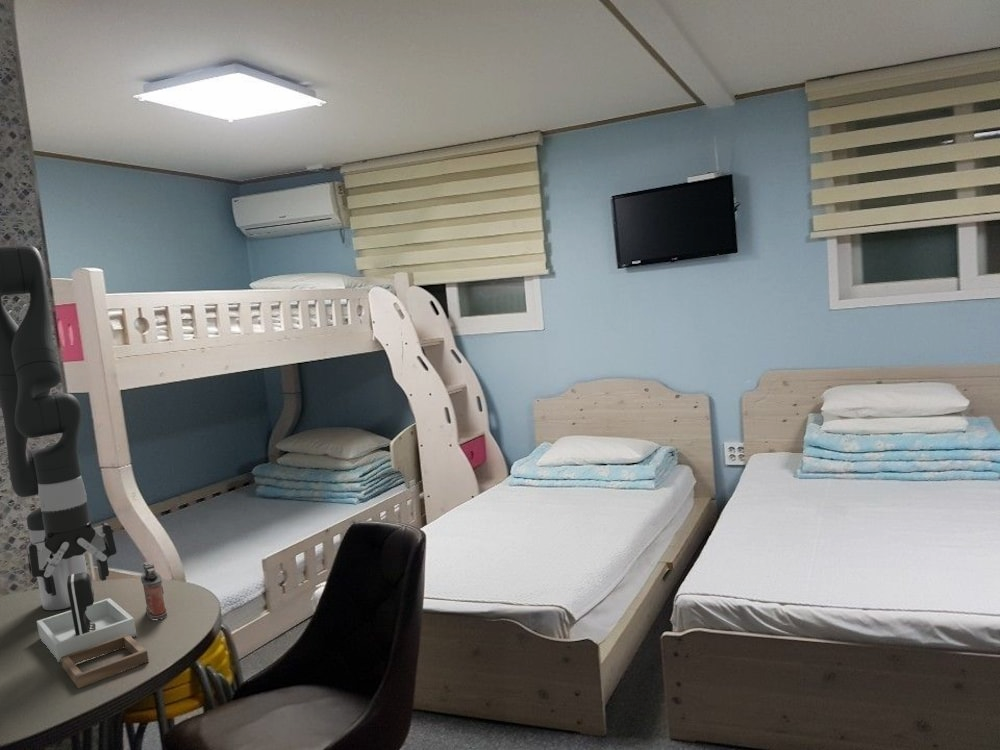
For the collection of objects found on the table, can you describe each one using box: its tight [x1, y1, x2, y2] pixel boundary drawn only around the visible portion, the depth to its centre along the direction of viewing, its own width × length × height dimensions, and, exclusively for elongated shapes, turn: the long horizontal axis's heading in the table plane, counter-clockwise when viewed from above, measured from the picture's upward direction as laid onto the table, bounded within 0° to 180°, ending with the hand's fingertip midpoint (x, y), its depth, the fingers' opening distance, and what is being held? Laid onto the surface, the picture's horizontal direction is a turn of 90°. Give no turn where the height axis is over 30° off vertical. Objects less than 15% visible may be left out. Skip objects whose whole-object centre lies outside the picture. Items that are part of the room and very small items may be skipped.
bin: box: [36, 597, 138, 662], centre depth 150 cm, size 16×13×4 cm
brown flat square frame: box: [61, 634, 149, 689], centre depth 137 cm, size 11×11×2 cm
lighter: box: [140, 561, 168, 620], centre depth 158 cm, size 8×3×10 cm, turn 34°
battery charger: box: [67, 572, 96, 636], centre depth 150 cm, size 7×4×11 cm, turn 27°
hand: (78, 587), depth 149 cm, fingers open, 8 cm apart
